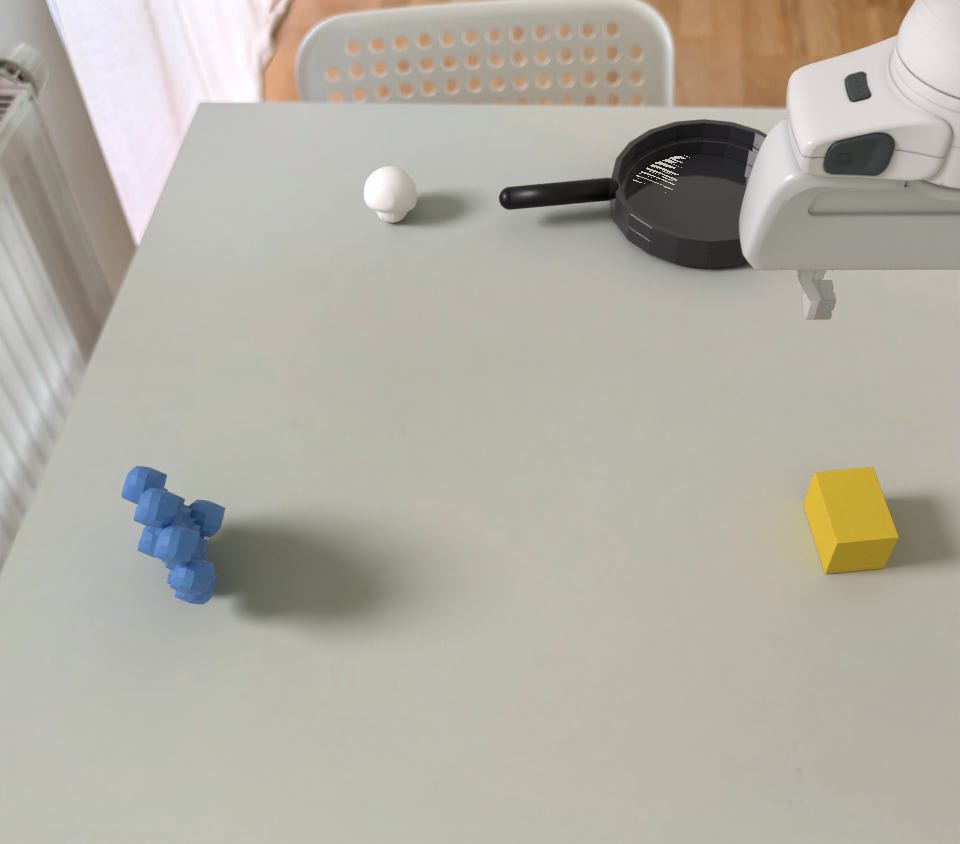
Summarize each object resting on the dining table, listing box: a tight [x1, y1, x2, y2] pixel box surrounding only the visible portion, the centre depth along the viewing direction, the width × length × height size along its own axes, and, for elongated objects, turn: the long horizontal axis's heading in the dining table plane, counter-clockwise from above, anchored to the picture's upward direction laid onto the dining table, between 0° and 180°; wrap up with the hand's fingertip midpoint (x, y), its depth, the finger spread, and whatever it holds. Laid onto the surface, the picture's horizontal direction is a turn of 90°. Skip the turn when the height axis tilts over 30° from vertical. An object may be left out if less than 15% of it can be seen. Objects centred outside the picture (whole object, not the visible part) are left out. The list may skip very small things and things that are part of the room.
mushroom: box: [363, 165, 418, 224], centre depth 103 cm, size 5×5×5 cm
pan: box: [609, 118, 768, 269], centre depth 102 cm, size 17×17×4 cm
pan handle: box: [498, 177, 619, 211], centre depth 101 cm, size 11×2×2 cm, turn 95°
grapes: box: [121, 465, 226, 605], centre depth 78 cm, size 12×7×12 cm, turn 31°
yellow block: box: [803, 466, 900, 575], centre depth 81 cm, size 4×6×4 cm
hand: (894, 312), depth 66 cm, fingers open, 8 cm apart
